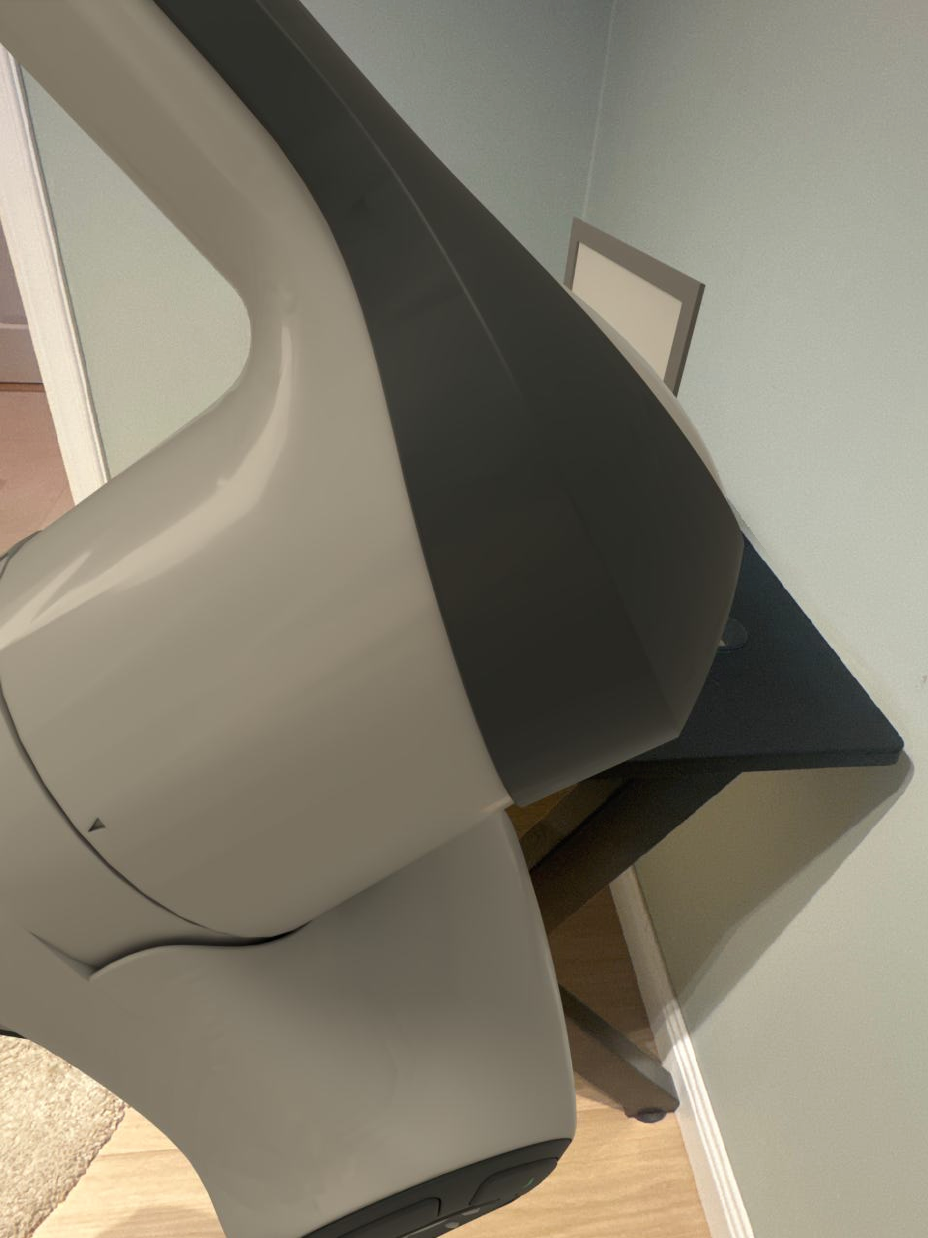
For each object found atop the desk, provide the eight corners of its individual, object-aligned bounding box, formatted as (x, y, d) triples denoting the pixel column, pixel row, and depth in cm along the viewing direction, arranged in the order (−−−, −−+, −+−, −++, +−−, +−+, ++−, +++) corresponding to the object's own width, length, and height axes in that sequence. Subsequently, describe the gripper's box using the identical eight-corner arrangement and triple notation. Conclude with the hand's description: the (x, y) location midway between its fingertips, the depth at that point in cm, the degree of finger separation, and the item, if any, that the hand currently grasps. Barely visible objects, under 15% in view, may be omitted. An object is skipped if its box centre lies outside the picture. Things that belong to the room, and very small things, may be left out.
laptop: (382, 423, 111) (385, 207, 94) (550, 419, 117) (581, 217, 100) (432, 546, 84) (449, 277, 67) (646, 532, 91) (710, 283, 74)
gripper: (624, 618, 28) (522, 459, 39) (28, 667, 24) (96, 472, 34) (595, 736, 32) (508, 561, 43) (75, 797, 28) (124, 585, 38)
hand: (321, 522), depth 39 cm, fingers open, 8 cm apart
